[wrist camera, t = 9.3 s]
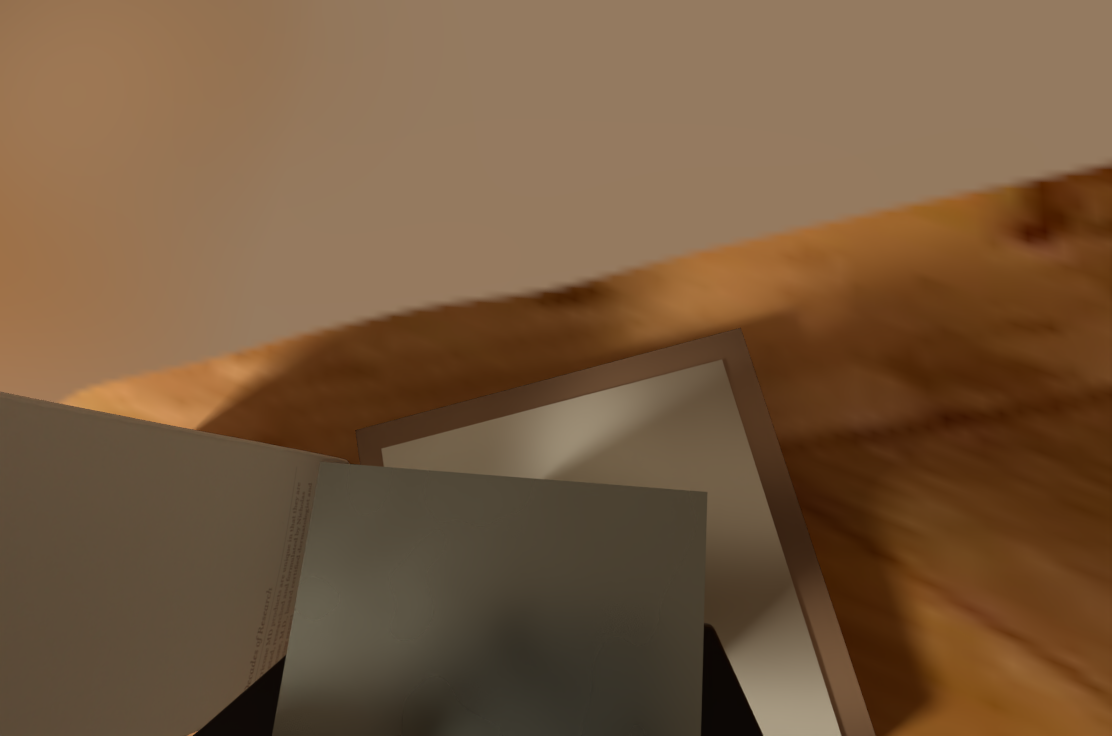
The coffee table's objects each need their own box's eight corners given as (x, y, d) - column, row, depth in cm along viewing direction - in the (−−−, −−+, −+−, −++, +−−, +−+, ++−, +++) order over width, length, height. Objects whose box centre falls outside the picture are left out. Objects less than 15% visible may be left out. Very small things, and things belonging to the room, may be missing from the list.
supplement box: (358, 457, 21) (-37, 375, 9) (313, 686, 20) (-235, 951, 8) (175, 435, 23) (-377, 340, 11) (120, 648, 21) (-605, 822, 9)
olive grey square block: (673, 703, 15) (692, 1007, 6) (493, 678, 16) (242, 904, 6) (680, 512, 16) (707, 491, 7) (512, 498, 17) (320, 462, 7)
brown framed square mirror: (861, 755, 17) (897, 797, 14) (450, 834, 18) (415, 886, 15) (730, 350, 20) (741, 326, 18) (389, 440, 21) (353, 429, 19)
